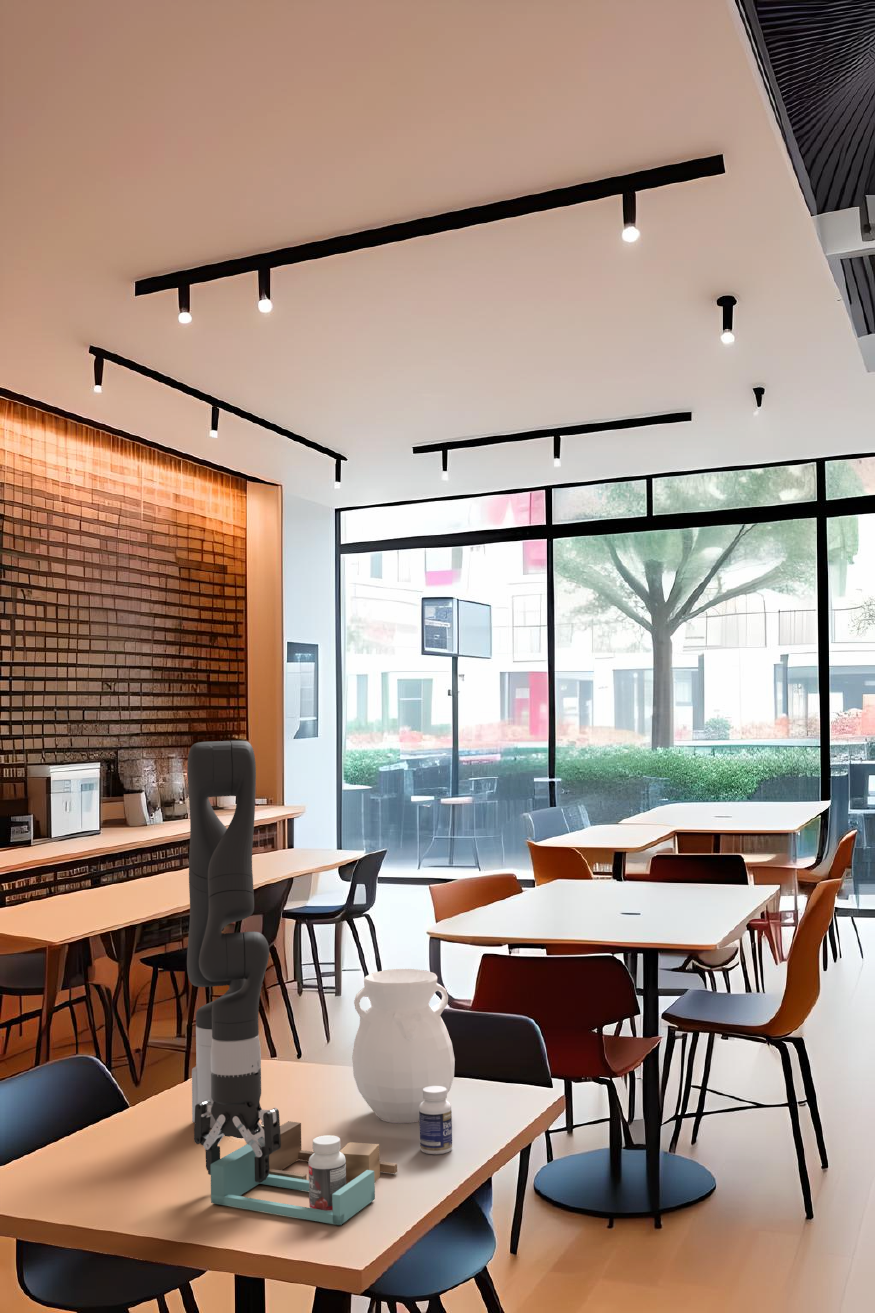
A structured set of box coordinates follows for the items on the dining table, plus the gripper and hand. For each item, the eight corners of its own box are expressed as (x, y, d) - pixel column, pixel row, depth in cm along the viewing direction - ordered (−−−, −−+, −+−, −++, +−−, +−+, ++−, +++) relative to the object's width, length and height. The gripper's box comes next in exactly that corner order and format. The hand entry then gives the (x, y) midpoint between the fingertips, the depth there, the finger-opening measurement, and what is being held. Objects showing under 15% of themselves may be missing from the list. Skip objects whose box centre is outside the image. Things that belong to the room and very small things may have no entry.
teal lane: (210, 1203, 167) (210, 1164, 168) (250, 1179, 176) (249, 1142, 177) (340, 1225, 158) (339, 1184, 158) (374, 1199, 167) (374, 1160, 167)
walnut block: (338, 1187, 173) (337, 1153, 173) (349, 1175, 178) (348, 1142, 178) (369, 1189, 172) (368, 1155, 172) (380, 1177, 176) (379, 1144, 177)
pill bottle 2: (449, 1156, 185) (447, 1094, 186) (417, 1154, 186) (415, 1093, 187) (455, 1144, 190) (453, 1084, 191) (424, 1143, 191) (422, 1083, 192)
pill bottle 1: (301, 1211, 164) (300, 1141, 165) (328, 1199, 168) (326, 1131, 169) (327, 1220, 161) (326, 1148, 162) (354, 1207, 165) (352, 1138, 166)
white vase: (358, 1136, 196) (354, 988, 198) (349, 1104, 214) (346, 969, 216) (464, 1127, 198) (460, 981, 201) (447, 1097, 217) (443, 963, 219)
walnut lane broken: (254, 1177, 177) (253, 1140, 178) (289, 1156, 186) (288, 1121, 187) (366, 1194, 169) (365, 1156, 169) (397, 1171, 178) (396, 1135, 178)
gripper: (182, 1069, 172) (183, 1180, 171) (260, 1077, 166) (262, 1192, 165) (212, 1056, 179) (214, 1163, 178) (289, 1064, 173) (291, 1175, 172)
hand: (237, 1177), depth 171 cm, fingers open, 8 cm apart
